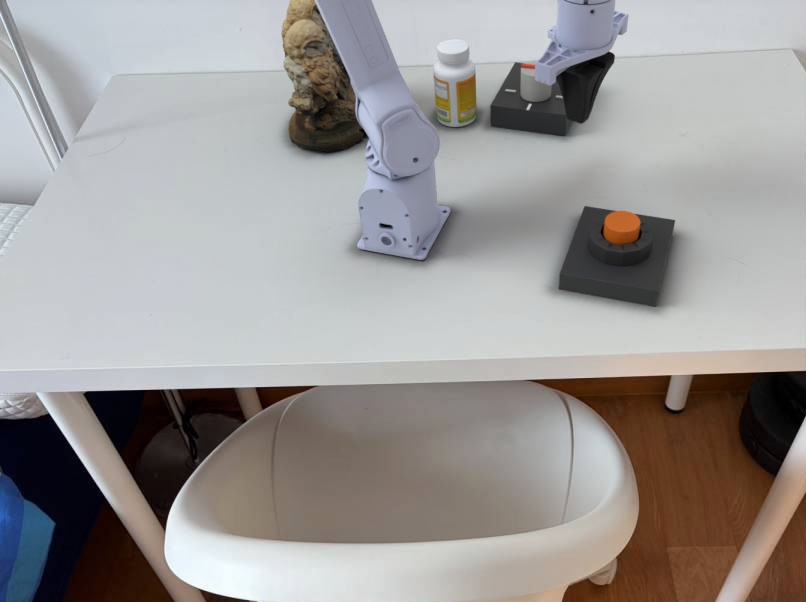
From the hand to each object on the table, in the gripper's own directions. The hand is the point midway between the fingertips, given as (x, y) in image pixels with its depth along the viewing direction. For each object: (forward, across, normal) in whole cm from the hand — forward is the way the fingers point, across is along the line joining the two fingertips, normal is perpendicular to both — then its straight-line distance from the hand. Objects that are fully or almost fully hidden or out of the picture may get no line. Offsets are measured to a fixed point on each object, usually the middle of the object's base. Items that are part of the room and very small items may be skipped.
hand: (577, 118), depth 88 cm
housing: (+8, +9, +12) cm, 17 cm away
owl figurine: (+9, +6, -33) cm, 35 cm away
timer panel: (+8, -12, -13) cm, 20 cm away
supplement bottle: (+9, -4, -21) cm, 23 cm away
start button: (+5, +9, +12) cm, 16 cm away
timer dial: (+5, -10, -13) cm, 17 cm away
